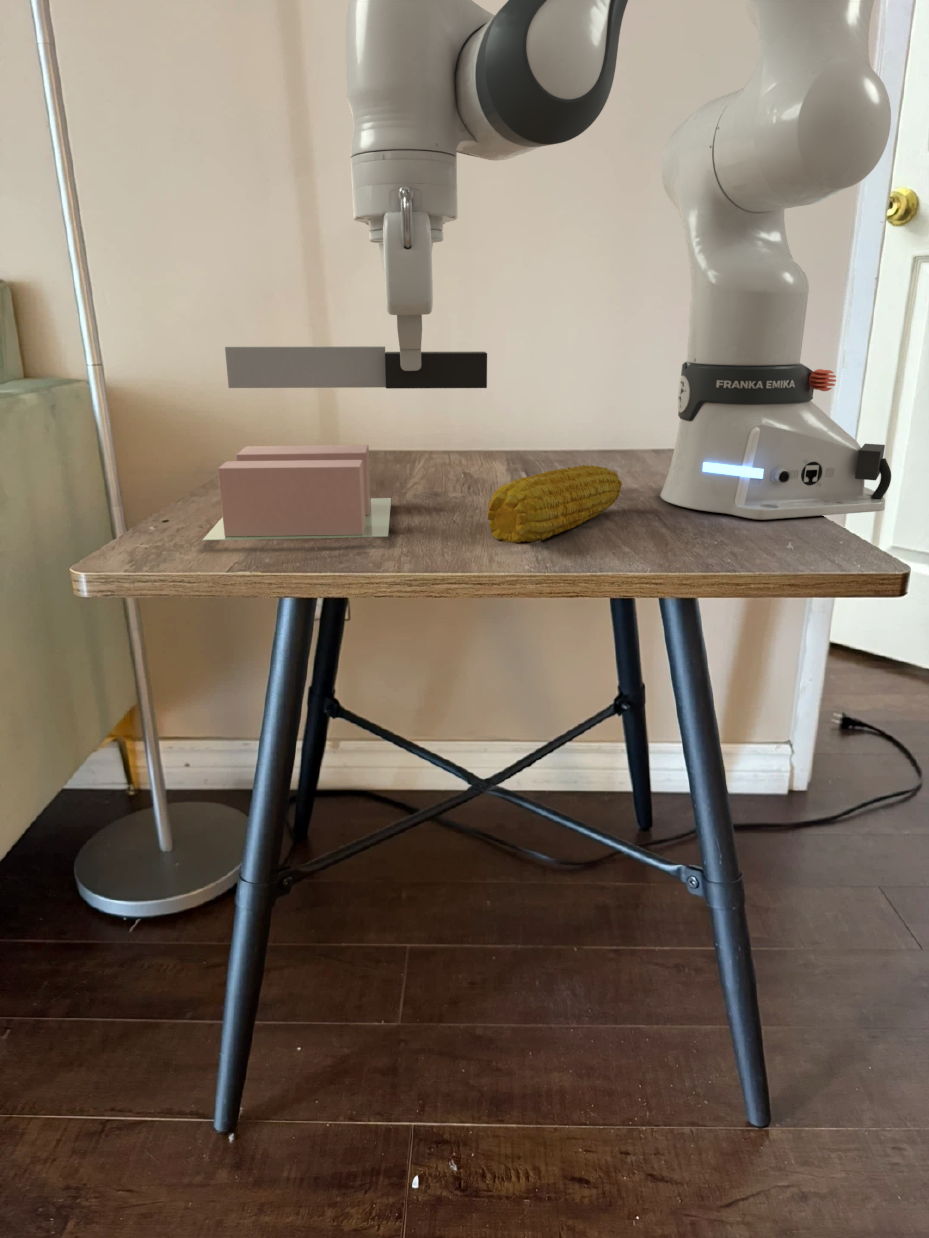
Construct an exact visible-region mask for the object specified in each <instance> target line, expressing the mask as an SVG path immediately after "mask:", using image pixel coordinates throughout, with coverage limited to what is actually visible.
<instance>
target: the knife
mask: <svg viewBox="0 0 929 1238" xmlns="http://www.w3.org/2000/svg"><path fill="white" fill-rule="evenodd" d="M224 352H225V363H226V364H225V365H226V374H227V375H226V376H227V385H228V389H315V388H317V389H318V388H319V389H323V388H325V389H329V388H330V389H331V388H335V389H337V388H338V389H341V388H343V389H344V388H345V389H346V388H347V389H348V388H351V389H352V388H353V389H354V388H355V389H357V388H358V389H359V388H361V389H363V388H365V389H366V388H369V389H370V388H372V389H373V388H385V389H389V390H391V389H393V390H395V389H487V388H488V353H487V352H486V351H421V368H420V369H419V370H417V371H404V370H403V369H402V368H401V363H400V351H386V346H382V345H381V346H367V345H366V346H363V345H362V346H224Z"/></svg>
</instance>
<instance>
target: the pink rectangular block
mask: <svg viewBox="0 0 929 1238" xmlns="http://www.w3.org/2000/svg"><path fill="white" fill-rule="evenodd" d="M235 459H236V460H235V461H295V460H363V476H364V498H365V515H369V512H370V506H371V498H372V497H371V496H372V494H371V474H370V472H371V471H370V449H369V444H319V445H318V444H316V445H315V444H313V445H312V444H309V445H250V446H249V445H247V446H246V445H245V446H244V447H243V448H242V449H241V450H240V451H239V452H237V453H236V454H235Z"/></svg>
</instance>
